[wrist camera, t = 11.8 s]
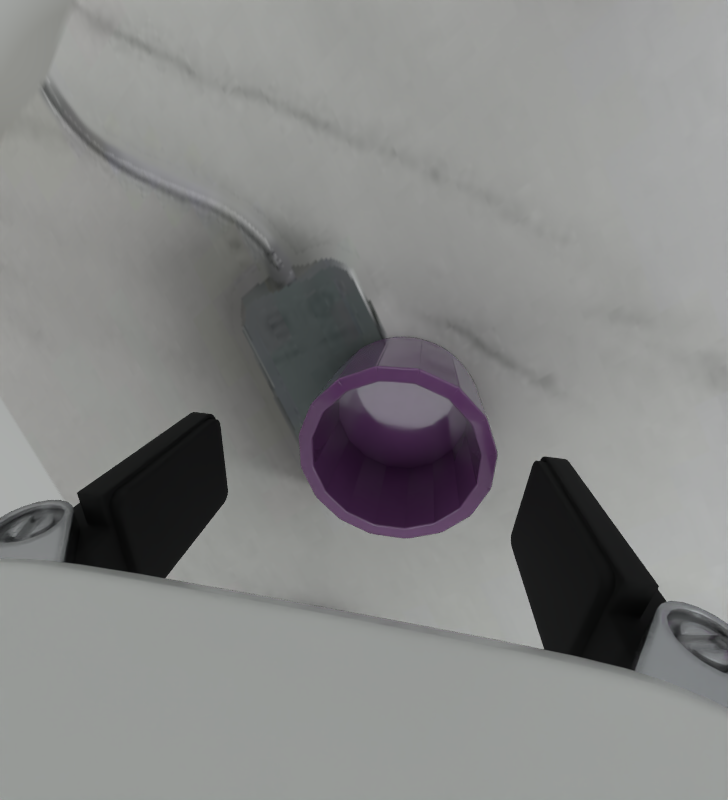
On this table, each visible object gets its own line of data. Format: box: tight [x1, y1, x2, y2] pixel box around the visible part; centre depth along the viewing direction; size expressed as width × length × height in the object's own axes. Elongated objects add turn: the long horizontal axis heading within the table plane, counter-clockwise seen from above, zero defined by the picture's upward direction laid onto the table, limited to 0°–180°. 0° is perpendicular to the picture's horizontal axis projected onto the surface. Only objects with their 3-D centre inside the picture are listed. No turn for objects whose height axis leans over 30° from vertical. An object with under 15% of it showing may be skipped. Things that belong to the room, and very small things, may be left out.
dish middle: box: [299, 337, 498, 538], centre depth 14 cm, size 7×7×4 cm
